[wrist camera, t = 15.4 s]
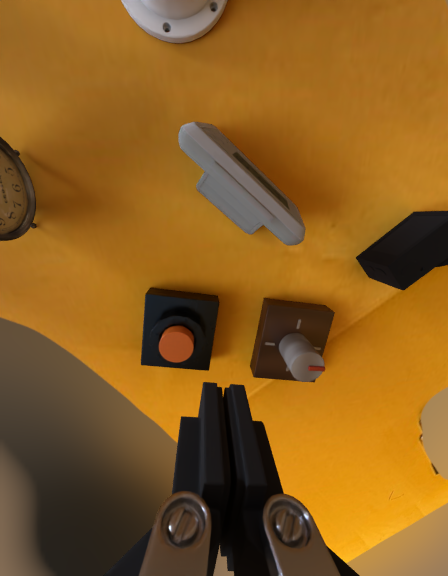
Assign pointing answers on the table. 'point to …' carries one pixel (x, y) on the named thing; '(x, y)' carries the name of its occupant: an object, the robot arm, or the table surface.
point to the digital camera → (408, 250)
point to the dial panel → (281, 322)
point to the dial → (301, 357)
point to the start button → (176, 343)
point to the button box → (185, 312)
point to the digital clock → (239, 185)
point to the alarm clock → (14, 195)
